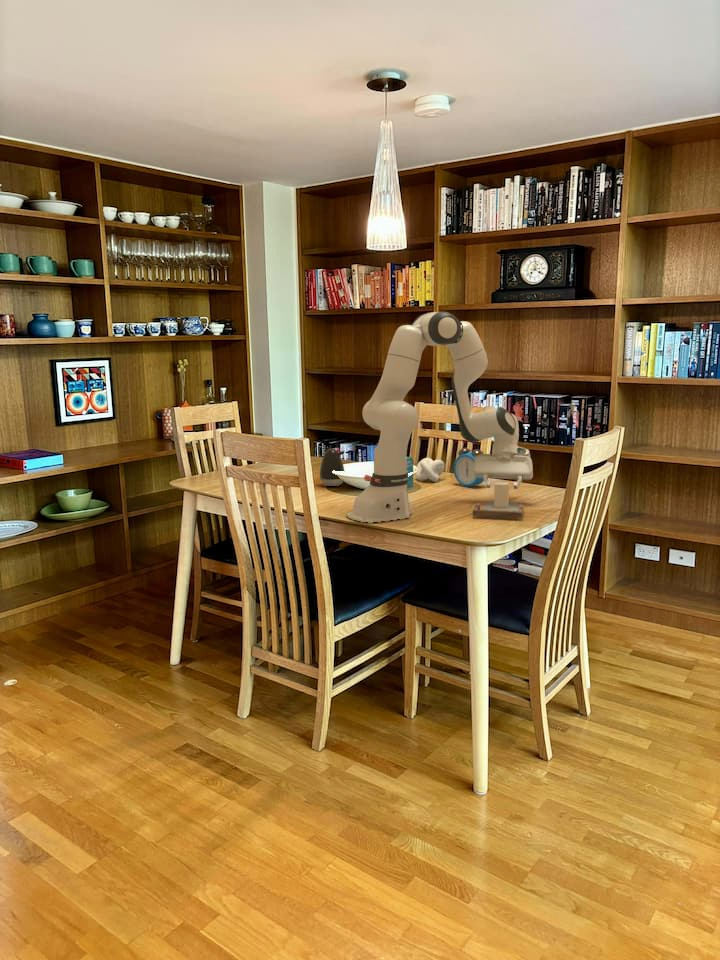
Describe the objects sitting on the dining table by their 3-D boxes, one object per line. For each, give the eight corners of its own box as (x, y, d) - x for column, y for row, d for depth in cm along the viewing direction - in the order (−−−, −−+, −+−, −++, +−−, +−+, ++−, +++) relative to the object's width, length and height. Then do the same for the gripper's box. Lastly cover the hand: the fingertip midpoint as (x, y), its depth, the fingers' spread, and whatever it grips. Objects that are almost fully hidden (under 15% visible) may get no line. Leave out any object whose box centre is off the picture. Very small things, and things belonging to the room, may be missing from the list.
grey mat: (518, 515, 247) (518, 510, 246) (481, 513, 250) (481, 509, 250) (520, 506, 258) (520, 502, 258) (485, 505, 261) (485, 501, 261)
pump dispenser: (342, 488, 294) (341, 450, 291) (317, 487, 296) (315, 450, 293) (348, 483, 304) (347, 446, 301) (323, 482, 306) (322, 446, 303)
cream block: (507, 507, 251) (508, 484, 249) (494, 507, 252) (494, 484, 251) (508, 504, 255) (508, 482, 254) (495, 504, 256) (495, 481, 255)
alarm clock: (452, 484, 297) (452, 447, 294) (462, 482, 301) (462, 446, 298) (478, 489, 287) (479, 451, 284) (488, 486, 292) (489, 449, 289)
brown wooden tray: (521, 525, 234) (521, 512, 234) (472, 522, 238) (472, 510, 238) (523, 516, 245) (523, 504, 245) (476, 514, 249) (476, 502, 249)
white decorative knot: (444, 484, 299) (444, 462, 297) (414, 483, 301) (414, 462, 299) (444, 478, 310) (444, 457, 308) (415, 478, 312) (415, 457, 310)
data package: (398, 491, 286) (398, 461, 284) (388, 490, 288) (388, 460, 286) (413, 486, 296) (413, 456, 293) (403, 485, 298) (403, 455, 296)
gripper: (474, 448, 260) (470, 481, 253) (533, 450, 255) (531, 483, 247) (475, 458, 265) (471, 491, 258) (534, 460, 260) (532, 493, 252)
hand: (501, 487), depth 252 cm, fingers open, 8 cm apart
